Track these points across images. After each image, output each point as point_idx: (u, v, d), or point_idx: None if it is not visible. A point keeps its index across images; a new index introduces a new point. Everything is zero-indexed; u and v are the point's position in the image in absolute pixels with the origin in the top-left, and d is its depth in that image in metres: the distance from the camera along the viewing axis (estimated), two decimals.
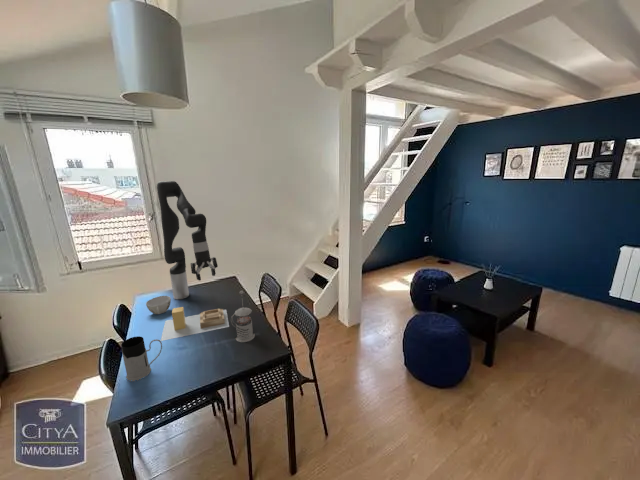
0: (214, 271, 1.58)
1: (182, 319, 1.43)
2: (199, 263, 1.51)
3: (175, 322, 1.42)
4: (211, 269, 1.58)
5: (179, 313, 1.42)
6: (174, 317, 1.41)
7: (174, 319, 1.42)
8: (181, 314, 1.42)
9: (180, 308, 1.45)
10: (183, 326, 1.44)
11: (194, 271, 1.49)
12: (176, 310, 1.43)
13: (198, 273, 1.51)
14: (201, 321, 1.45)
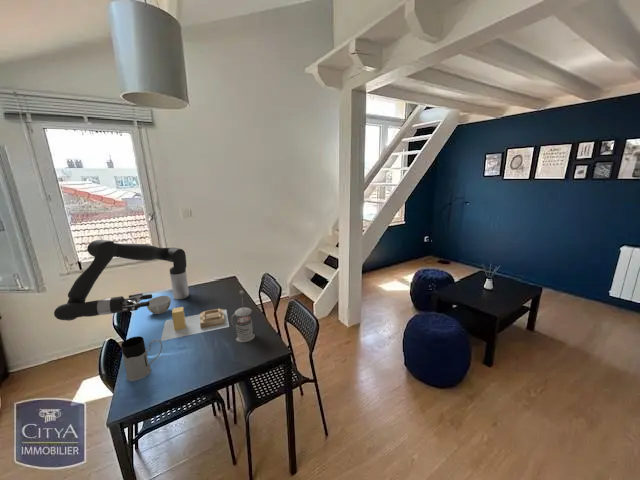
0: (143, 306, 1.32)
1: (182, 319, 1.43)
2: None
3: (175, 322, 1.42)
4: (140, 303, 1.32)
5: (179, 313, 1.42)
6: (174, 317, 1.41)
7: (174, 319, 1.42)
8: (181, 314, 1.42)
9: (180, 308, 1.45)
10: (183, 326, 1.44)
11: None
12: (176, 310, 1.43)
13: None
14: (201, 321, 1.45)
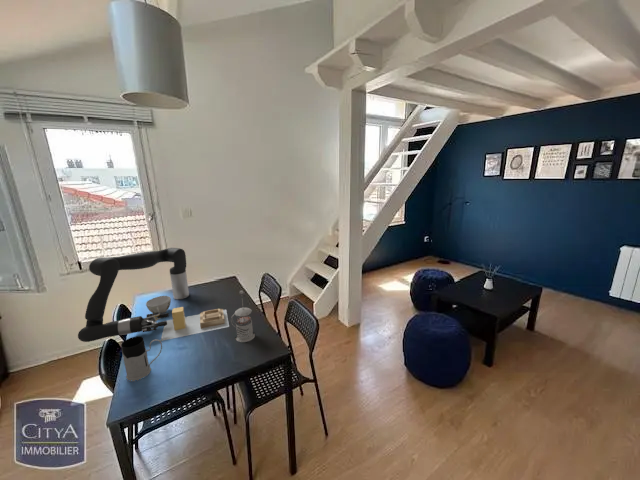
0: (161, 325, 1.38)
1: (182, 319, 1.43)
2: None
3: (175, 322, 1.42)
4: (158, 323, 1.38)
5: (179, 313, 1.42)
6: (174, 317, 1.41)
7: (174, 319, 1.42)
8: (181, 314, 1.42)
9: (180, 308, 1.45)
10: (183, 326, 1.44)
11: None
12: (176, 310, 1.43)
13: None
14: (201, 321, 1.45)
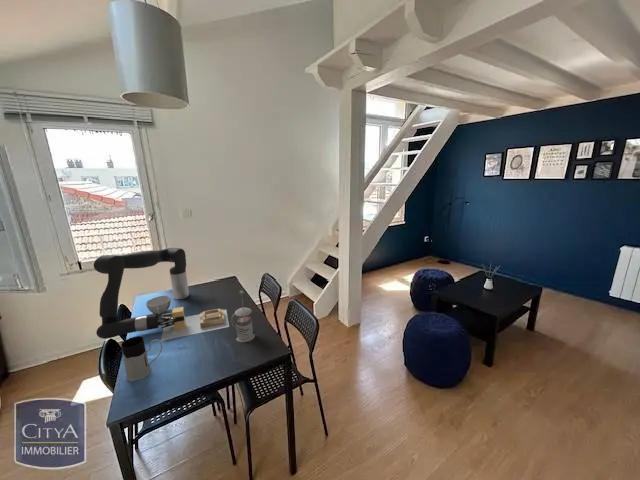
0: (179, 320, 1.42)
1: None
2: None
3: (176, 322, 1.42)
4: (176, 318, 1.42)
5: (179, 313, 1.42)
6: (174, 317, 1.41)
7: None
8: (181, 314, 1.42)
9: (180, 308, 1.45)
10: (183, 326, 1.44)
11: None
12: (176, 310, 1.43)
13: None
14: (201, 321, 1.45)
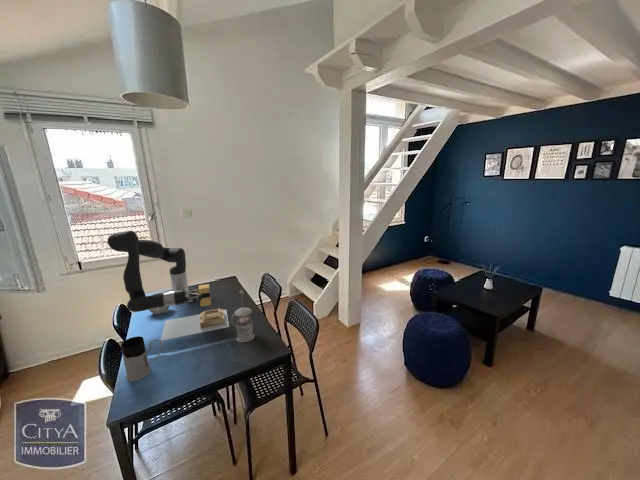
0: (205, 297, 1.44)
1: None
2: None
3: None
4: (202, 294, 1.44)
5: (205, 289, 1.44)
6: (200, 293, 1.43)
7: None
8: (207, 290, 1.44)
9: (206, 285, 1.47)
10: (209, 302, 1.46)
11: None
12: (202, 286, 1.45)
13: None
14: (201, 321, 1.45)
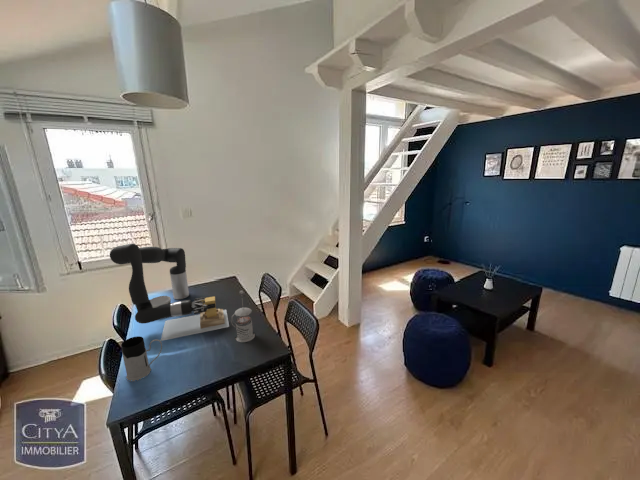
0: (210, 307, 1.46)
1: (214, 308, 1.48)
2: None
3: (208, 311, 1.47)
4: (207, 305, 1.46)
5: (212, 302, 1.47)
6: None
7: None
8: (213, 303, 1.47)
9: (212, 297, 1.50)
10: (215, 315, 1.49)
11: None
12: (208, 299, 1.48)
13: None
14: (201, 321, 1.45)
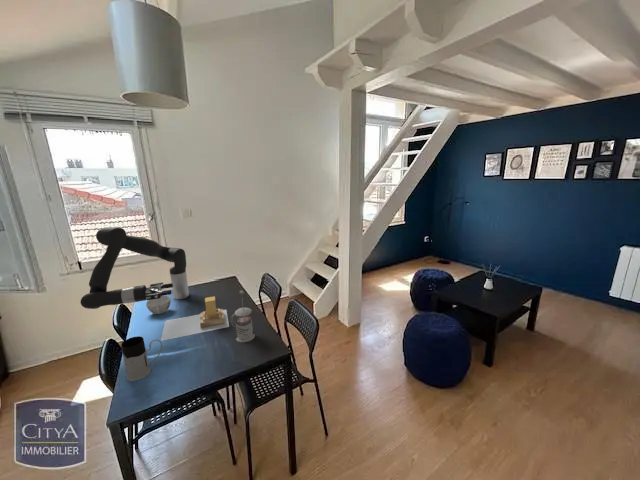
0: (165, 294, 1.35)
1: (214, 308, 1.48)
2: None
3: (208, 311, 1.47)
4: None
5: (212, 302, 1.47)
6: (207, 306, 1.46)
7: (207, 308, 1.47)
8: (213, 303, 1.47)
9: (212, 298, 1.50)
10: (215, 315, 1.49)
11: None
12: (209, 299, 1.48)
13: None
14: (201, 321, 1.45)
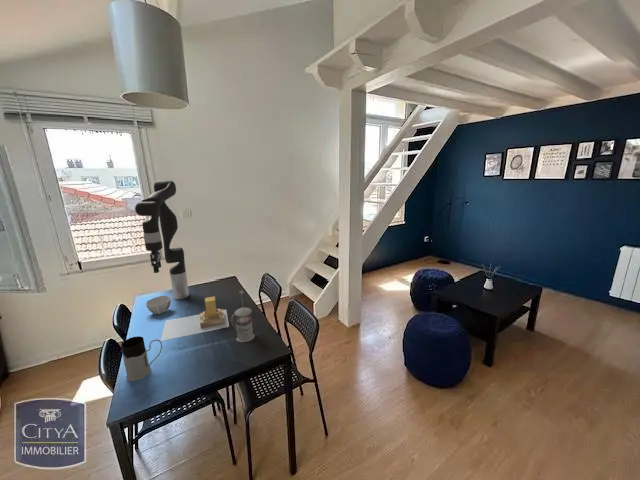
0: (154, 268, 1.41)
1: (214, 308, 1.48)
2: None
3: (208, 311, 1.47)
4: None
5: (212, 302, 1.47)
6: (207, 306, 1.46)
7: (207, 308, 1.47)
8: (213, 303, 1.47)
9: (212, 298, 1.50)
10: (215, 315, 1.49)
11: None
12: (209, 299, 1.48)
13: None
14: (201, 321, 1.45)
